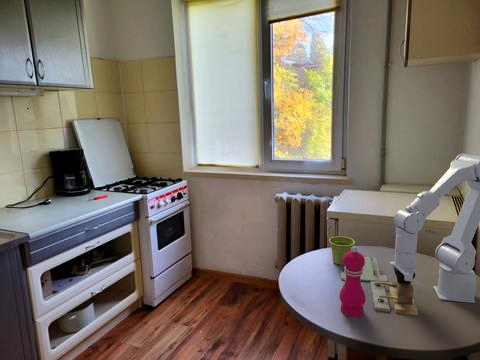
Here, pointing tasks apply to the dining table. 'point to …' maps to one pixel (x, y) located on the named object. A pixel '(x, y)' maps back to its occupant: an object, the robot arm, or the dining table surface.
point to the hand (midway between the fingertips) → (402, 291)
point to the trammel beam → (400, 307)
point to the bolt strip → (379, 303)
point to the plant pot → (340, 248)
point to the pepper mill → (352, 284)
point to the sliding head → (402, 294)
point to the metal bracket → (370, 271)
